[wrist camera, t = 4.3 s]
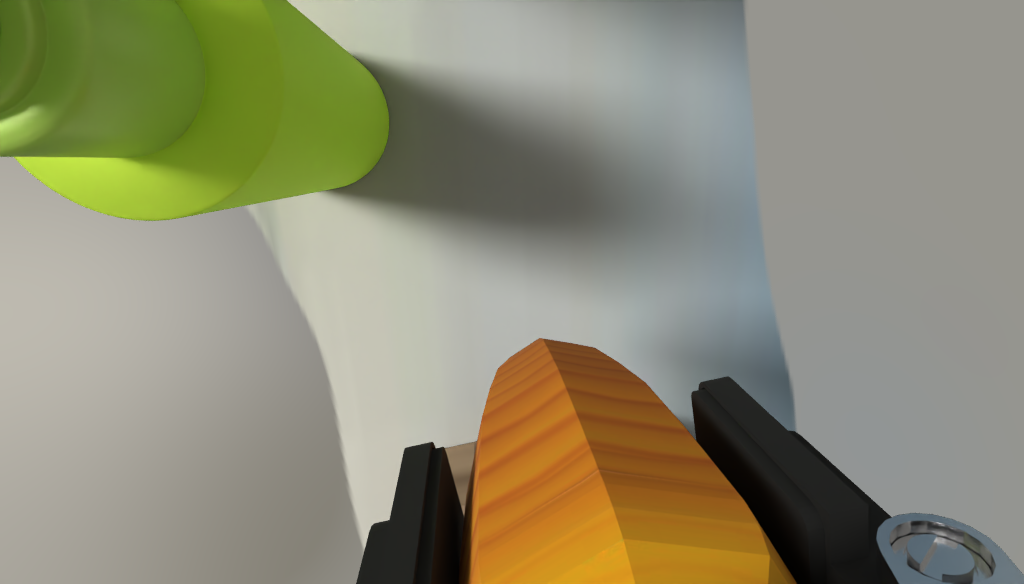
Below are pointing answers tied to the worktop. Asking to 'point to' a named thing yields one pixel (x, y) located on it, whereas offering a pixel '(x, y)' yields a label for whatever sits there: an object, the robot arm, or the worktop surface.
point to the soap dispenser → (182, 104)
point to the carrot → (599, 485)
